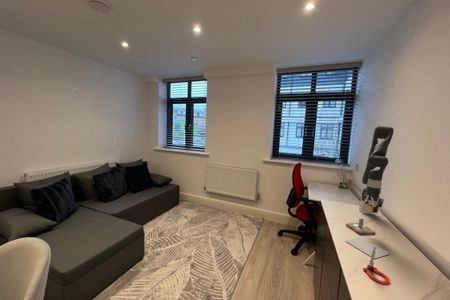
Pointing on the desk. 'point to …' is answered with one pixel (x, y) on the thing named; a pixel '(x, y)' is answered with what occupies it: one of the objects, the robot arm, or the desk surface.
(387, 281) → the tow hook
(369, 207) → the collar
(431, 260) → the desk surface
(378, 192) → the robot arm
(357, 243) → the grey flat panel
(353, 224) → the post stand
